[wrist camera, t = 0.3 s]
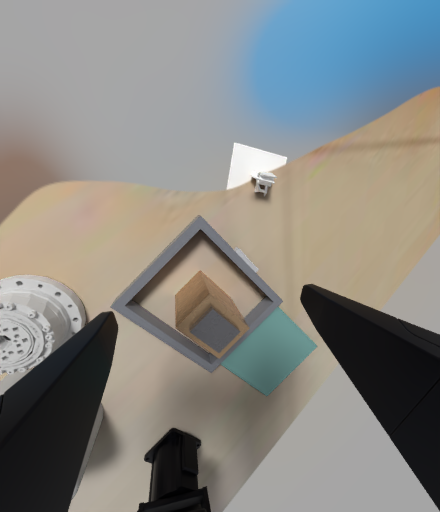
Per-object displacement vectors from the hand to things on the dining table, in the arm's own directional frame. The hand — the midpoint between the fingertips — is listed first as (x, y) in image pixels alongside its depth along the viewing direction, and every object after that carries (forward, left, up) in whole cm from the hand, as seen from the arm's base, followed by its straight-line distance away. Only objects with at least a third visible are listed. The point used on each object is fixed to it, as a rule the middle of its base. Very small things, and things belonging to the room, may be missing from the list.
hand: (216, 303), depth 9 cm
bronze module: (-4, -6, -15) cm, 16 cm away
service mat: (-4, -21, -15) cm, 26 cm away
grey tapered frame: (-4, -6, -15) cm, 16 cm away
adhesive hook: (+10, -1, -15) cm, 18 cm away
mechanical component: (-18, +7, -15) cm, 24 cm away
